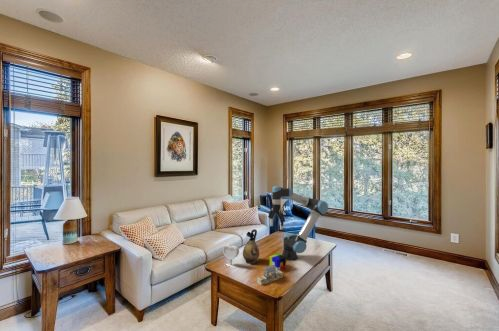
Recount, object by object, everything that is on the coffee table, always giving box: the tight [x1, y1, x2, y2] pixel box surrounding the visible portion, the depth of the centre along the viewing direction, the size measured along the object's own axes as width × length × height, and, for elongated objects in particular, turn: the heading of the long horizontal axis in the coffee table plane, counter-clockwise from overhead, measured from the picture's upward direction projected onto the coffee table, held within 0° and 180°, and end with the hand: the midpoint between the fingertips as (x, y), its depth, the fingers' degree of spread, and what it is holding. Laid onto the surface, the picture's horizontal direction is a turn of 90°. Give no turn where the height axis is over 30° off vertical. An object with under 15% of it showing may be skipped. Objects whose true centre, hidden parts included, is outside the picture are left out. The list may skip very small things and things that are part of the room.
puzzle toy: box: [269, 253, 287, 271], centre depth 207 cm, size 10×10×10 cm
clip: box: [263, 265, 276, 281], centre depth 186 cm, size 9×3×10 cm, turn 124°
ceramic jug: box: [242, 228, 260, 264], centre depth 221 cm, size 17×15×30 cm
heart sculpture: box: [222, 244, 240, 269], centre depth 212 cm, size 16×5×18 cm, turn 59°
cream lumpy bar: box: [256, 270, 284, 286], centre depth 186 cm, size 22×5×4 cm, turn 124°
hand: (276, 227), depth 210 cm, fingers open, 13 cm apart
